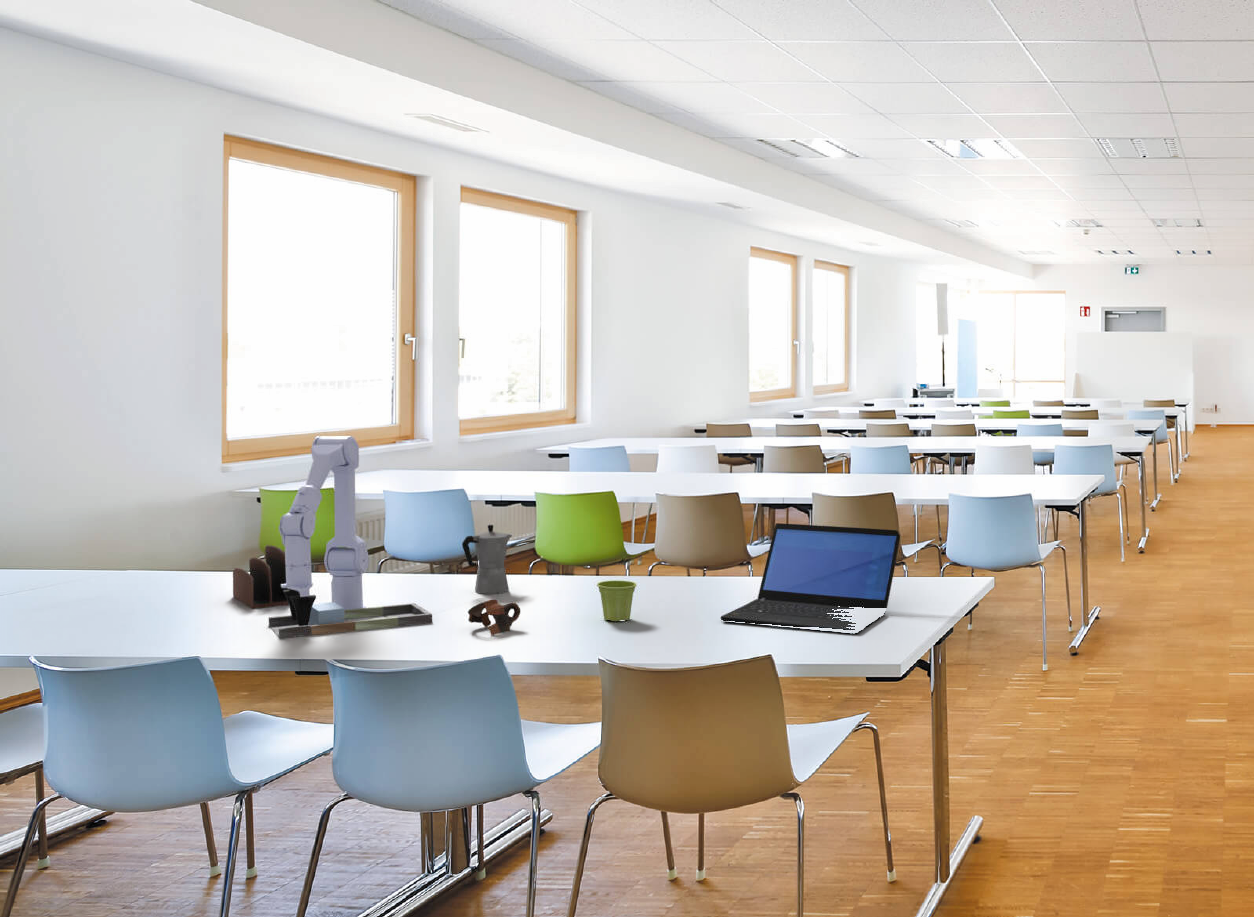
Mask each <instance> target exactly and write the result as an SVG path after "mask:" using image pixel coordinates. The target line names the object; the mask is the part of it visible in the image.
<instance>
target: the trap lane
mask: <svg viewBox="0 0 1254 917" xmlns="http://www.w3.org/2000/svg"><path fill="white" fill-rule="evenodd" d="M344 615H345V620H350V619H359V618H369V617H370V619H363V620H361V619H360V620H353V621H352V620H351V621H345V622H340V623H330V624H320V625H307V626H299V625H298V622H297V620H293V619H292V616H291V614H290V615H280V616H269V617H268V627H269V628H270V629H271V630H272V631H273V632H274V633H275V634H276V636H277V637H278V638H279V639H287V638H289V639H290V638H297V637H307V636H317V635H325V634H334V633H335V634H336V633H346V632H355V631H363V630H365V631H366V630H373V629H384V628H385V629H386V628H393V627H402V626H411V625H421V624H430V623H433V613H431V612H429V611H428V610H426V609H425V608H423V607H421V606H420V605H419V604H416V603H415V602H413V603H412V602H411V603H403V604H402V603H401V604H392V605H382V606H381V605H380V606H372V607H367V608H359V609H349V610H344ZM379 616H384V617H381V618H372V619H371V617H379Z"/></svg>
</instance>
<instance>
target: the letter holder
mask: <svg viewBox="0 0 1254 917" xmlns="http://www.w3.org/2000/svg"><path fill="white" fill-rule="evenodd" d="M264 554H265V556H264V557H265V561H264V560H263V559H261V558H259V557H253V556H252V557H249V560H248V562H249V563H248V564H249V572H248V571H247V570H245V569H244V568H240V567H234V568H233V570H232V596H233V598H234V599H236V600H237V601H239V602H240V603H242V604H244V605H246V606H248V607H249V608H251V609H252V610H254V609H263V608H265V609H266V608H271V607H272V608H274V607H283V606H289V603H288V600H287V598H286V596H285V594H284V592H283V590H289V589H288V588H282V587H281V584H286V563H285V550H283V549H281V548H280V547H277V546H276V545H275V546H274V545H272V544H270V545H269V544H268V545H265V548H264Z"/></svg>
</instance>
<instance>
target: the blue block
mask: <svg viewBox="0 0 1254 917" xmlns="http://www.w3.org/2000/svg"><path fill="white" fill-rule="evenodd" d="M340 622H346V619H345V615H344V608H343V607H341V606H340V605H338V604H336V603H335V602H332V601H331V602H321V603H320V602H319V603H313V606H312V609H311V613H310V619H309V624H308V626H310V625H320V624H330V623H340Z"/></svg>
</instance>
